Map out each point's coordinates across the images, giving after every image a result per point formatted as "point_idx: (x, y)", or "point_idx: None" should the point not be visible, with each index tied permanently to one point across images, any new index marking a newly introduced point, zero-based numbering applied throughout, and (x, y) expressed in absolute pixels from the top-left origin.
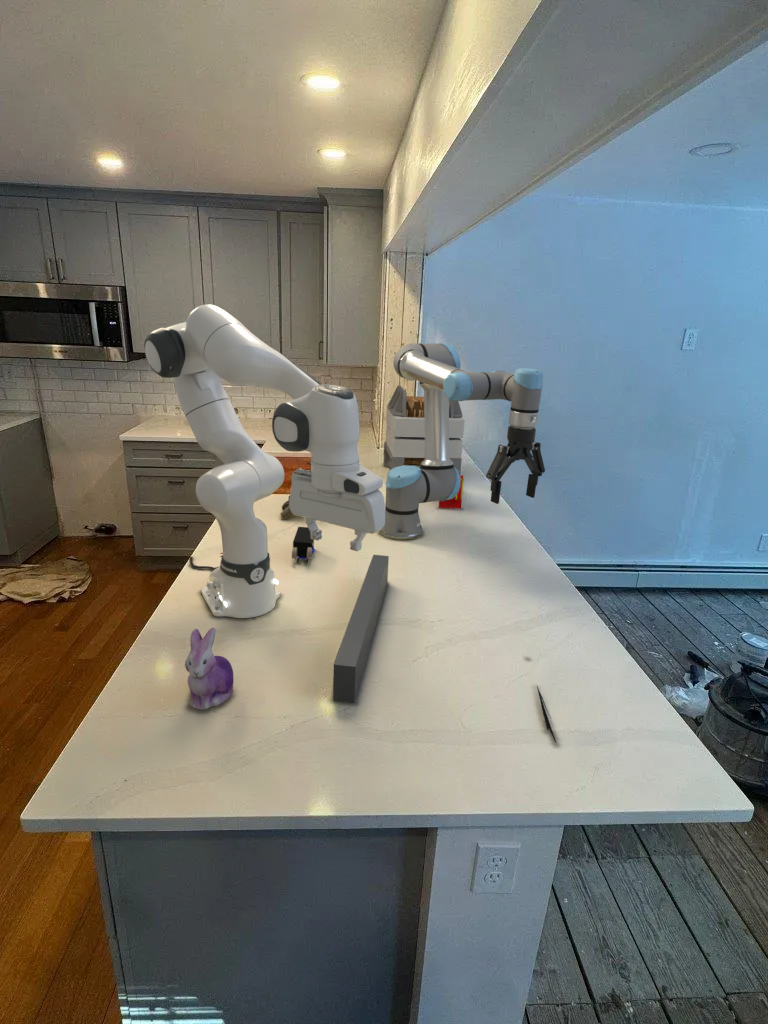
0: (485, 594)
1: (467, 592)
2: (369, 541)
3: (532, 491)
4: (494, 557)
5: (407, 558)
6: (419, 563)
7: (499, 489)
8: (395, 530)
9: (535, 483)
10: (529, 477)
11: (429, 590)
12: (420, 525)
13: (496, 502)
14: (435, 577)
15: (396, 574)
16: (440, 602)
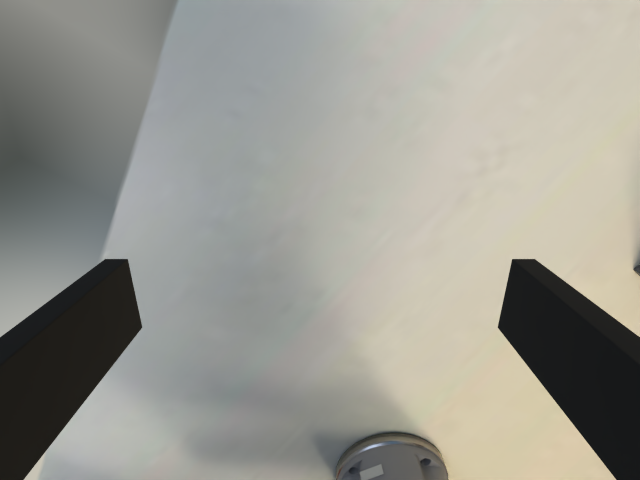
0: (459, 90)
1: (496, 127)
2: (491, 457)
3: (98, 296)
4: (259, 273)
5: (481, 357)
6: (476, 324)
7: (623, 337)
8: (436, 470)
9: (11, 341)
10: (17, 465)
11: (577, 187)
12: (347, 474)
13: (540, 269)
14: (502, 243)
15: None
16: (610, 111)
